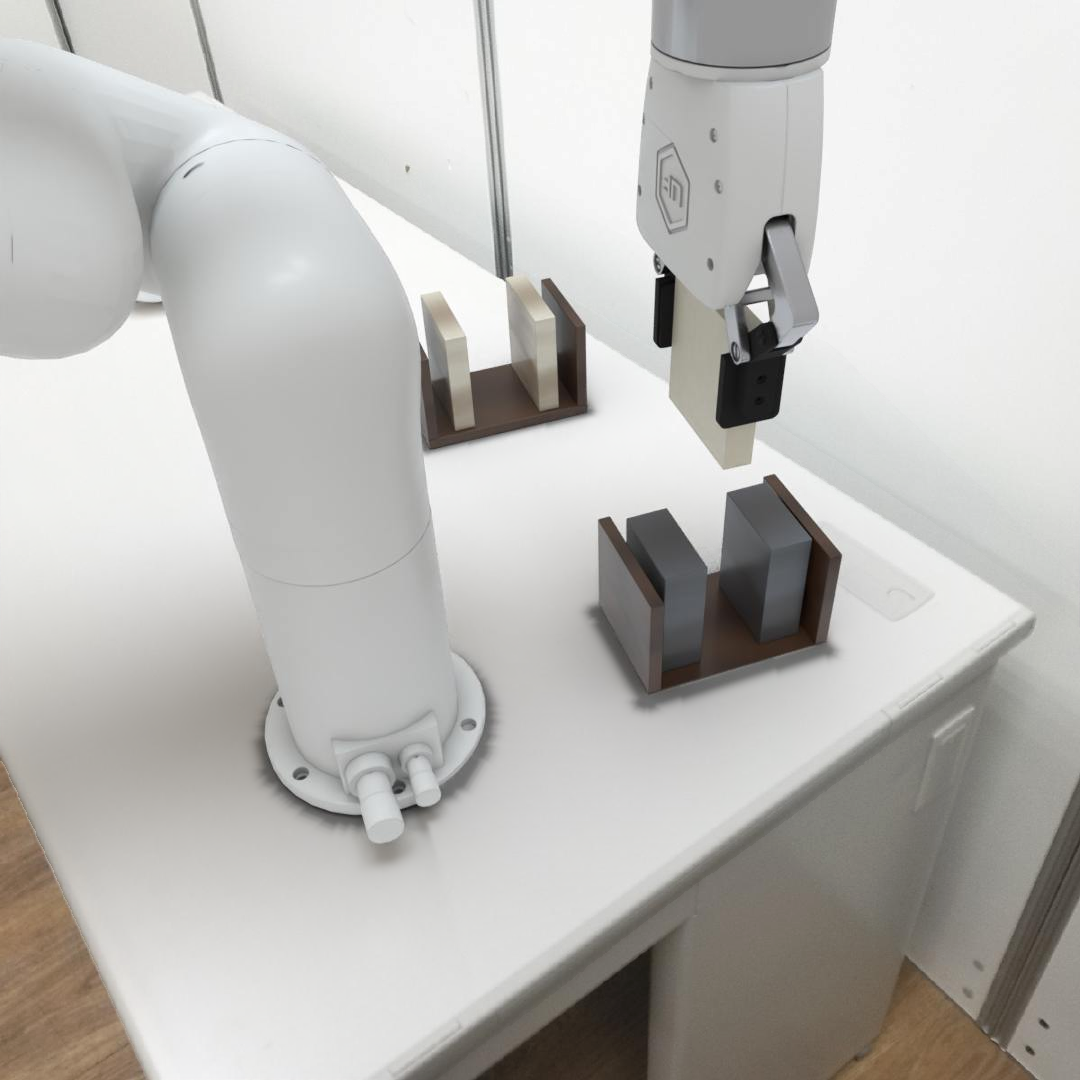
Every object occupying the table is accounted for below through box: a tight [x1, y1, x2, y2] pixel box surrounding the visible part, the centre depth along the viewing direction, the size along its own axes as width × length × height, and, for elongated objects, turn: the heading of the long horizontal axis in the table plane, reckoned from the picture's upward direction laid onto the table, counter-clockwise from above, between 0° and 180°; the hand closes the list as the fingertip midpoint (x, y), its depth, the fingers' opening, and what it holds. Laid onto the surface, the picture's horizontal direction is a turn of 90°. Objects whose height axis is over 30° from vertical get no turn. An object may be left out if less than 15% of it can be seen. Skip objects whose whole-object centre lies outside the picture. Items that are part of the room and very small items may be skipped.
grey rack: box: [597, 473, 843, 695], centre depth 66 cm, size 8×12×8 cm
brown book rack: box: [419, 273, 588, 450], centre depth 86 cm, size 8×13×9 cm, turn 109°
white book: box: [668, 277, 764, 471], centre depth 57 cm, size 7×2×8 cm, turn 18°
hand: (712, 377), depth 58 cm, fingers closed on white book, 7 cm apart
